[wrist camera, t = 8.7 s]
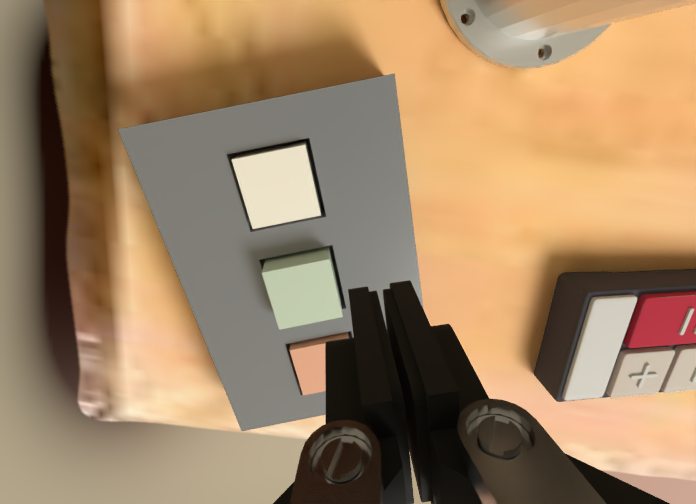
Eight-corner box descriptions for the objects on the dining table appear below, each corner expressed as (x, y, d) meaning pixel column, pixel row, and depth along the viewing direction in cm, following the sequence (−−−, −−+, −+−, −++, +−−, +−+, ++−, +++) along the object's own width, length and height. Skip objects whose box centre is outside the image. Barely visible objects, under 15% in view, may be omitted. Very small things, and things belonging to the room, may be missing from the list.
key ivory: (239, 153, 24) (231, 159, 22) (306, 139, 24) (305, 144, 22) (258, 217, 26) (252, 229, 24) (320, 204, 26) (320, 215, 24)
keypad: (143, 124, 25) (117, 129, 21) (384, 76, 25) (394, 73, 21) (248, 399, 34) (241, 431, 31) (422, 364, 34) (433, 392, 31)
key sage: (266, 257, 26) (261, 272, 24) (328, 244, 26) (329, 259, 24) (282, 310, 28) (279, 329, 26) (340, 298, 28) (342, 317, 26)
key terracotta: (291, 330, 30) (289, 350, 28) (345, 319, 30) (348, 338, 28) (304, 373, 32) (303, 395, 29) (355, 363, 32) (358, 384, 29)
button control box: (715, 394, 34) (560, 410, 32) (671, 363, 38) (531, 375, 36) (769, 286, 30) (594, 296, 28) (713, 263, 33) (557, 271, 32)
